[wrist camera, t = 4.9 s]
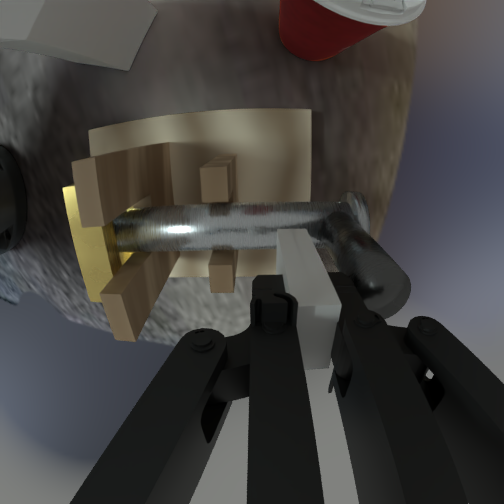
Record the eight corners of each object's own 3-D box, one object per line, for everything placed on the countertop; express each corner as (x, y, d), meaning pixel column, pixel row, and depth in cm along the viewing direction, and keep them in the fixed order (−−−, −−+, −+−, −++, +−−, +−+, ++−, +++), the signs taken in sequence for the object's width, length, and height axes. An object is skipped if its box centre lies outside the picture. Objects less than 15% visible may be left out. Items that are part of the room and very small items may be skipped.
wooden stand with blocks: (116, 271, 30) (54, 353, 17) (94, 129, 23) (-8, 144, 10) (304, 269, 29) (335, 369, 17) (308, 110, 23) (366, 91, 10)
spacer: (130, 253, 24) (90, 301, 17) (117, 167, 21) (62, 187, 14) (155, 253, 24) (120, 303, 17) (143, 163, 21) (94, 182, 14)
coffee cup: (359, 72, 21) (457, 32, 7) (274, 75, 22) (298, 10, 8) (342, 0, 18) (408, -76, 4) (259, 1, 18) (264, -97, 4)
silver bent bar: (125, 247, 21) (52, 330, 11) (116, 193, 19) (22, 252, 9) (345, 242, 21) (406, 333, 11) (349, 185, 19) (431, 243, 9)
